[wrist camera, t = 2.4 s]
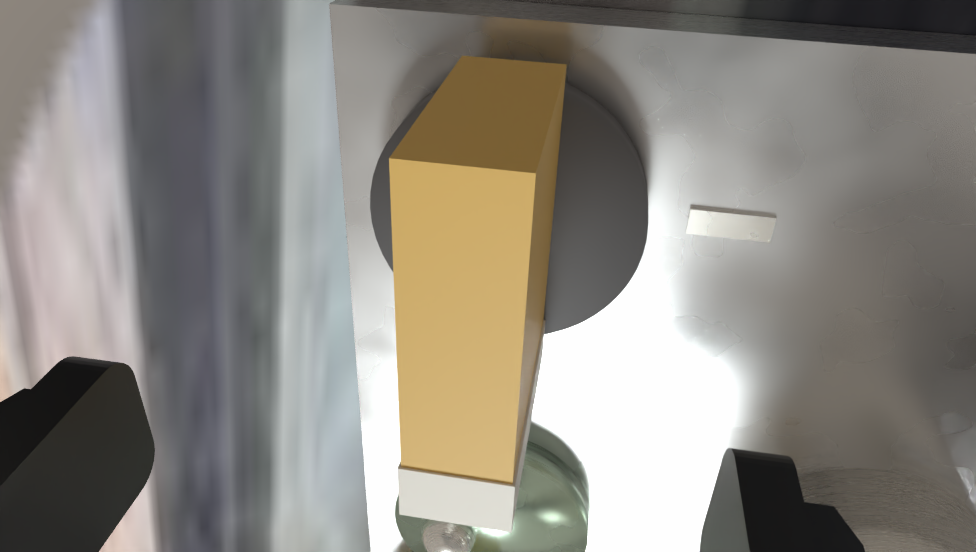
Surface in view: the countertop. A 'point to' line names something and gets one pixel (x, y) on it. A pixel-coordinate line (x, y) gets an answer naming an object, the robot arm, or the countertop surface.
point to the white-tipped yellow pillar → (495, 267)
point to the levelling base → (713, 273)
